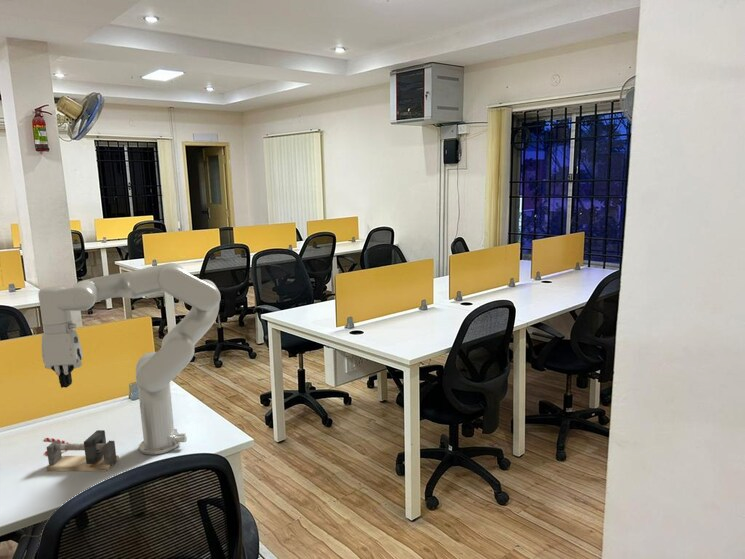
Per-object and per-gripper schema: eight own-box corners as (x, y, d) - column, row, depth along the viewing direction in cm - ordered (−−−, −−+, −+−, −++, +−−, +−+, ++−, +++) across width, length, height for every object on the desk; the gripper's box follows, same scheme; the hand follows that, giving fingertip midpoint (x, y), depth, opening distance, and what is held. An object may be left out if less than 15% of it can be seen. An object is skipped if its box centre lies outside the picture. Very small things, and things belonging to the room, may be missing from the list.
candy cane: (55, 433, 188) (75, 445, 179) (55, 437, 188) (75, 449, 179) (30, 442, 182) (49, 455, 173) (31, 446, 182) (50, 459, 173)
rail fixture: (119, 459, 171) (116, 438, 170) (107, 470, 164) (105, 449, 163) (60, 459, 172) (57, 438, 171) (46, 471, 165) (43, 449, 164)
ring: (107, 451, 171) (104, 430, 170) (94, 464, 164) (91, 441, 162) (99, 451, 171) (97, 430, 170) (86, 464, 164) (83, 441, 163)
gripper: (89, 323, 166) (97, 380, 169) (40, 325, 166) (49, 382, 169) (76, 330, 159) (84, 389, 162) (25, 332, 159) (34, 391, 162)
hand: (66, 385), depth 166 cm, fingers closed
